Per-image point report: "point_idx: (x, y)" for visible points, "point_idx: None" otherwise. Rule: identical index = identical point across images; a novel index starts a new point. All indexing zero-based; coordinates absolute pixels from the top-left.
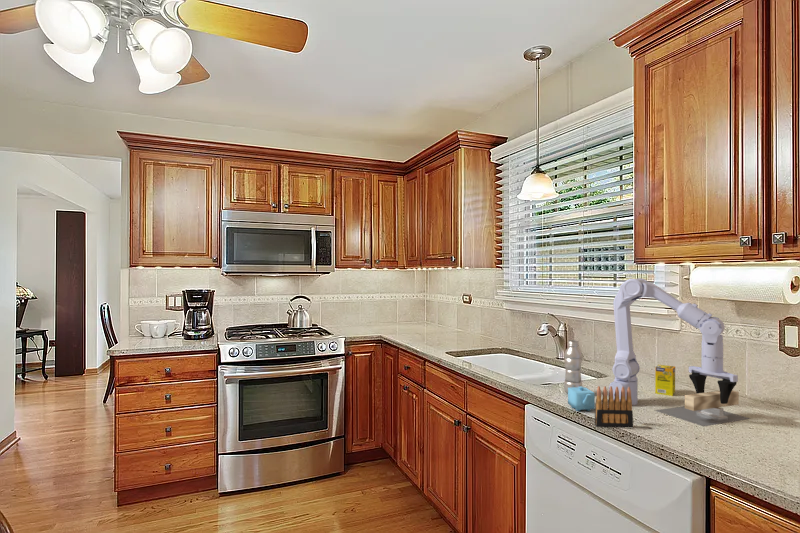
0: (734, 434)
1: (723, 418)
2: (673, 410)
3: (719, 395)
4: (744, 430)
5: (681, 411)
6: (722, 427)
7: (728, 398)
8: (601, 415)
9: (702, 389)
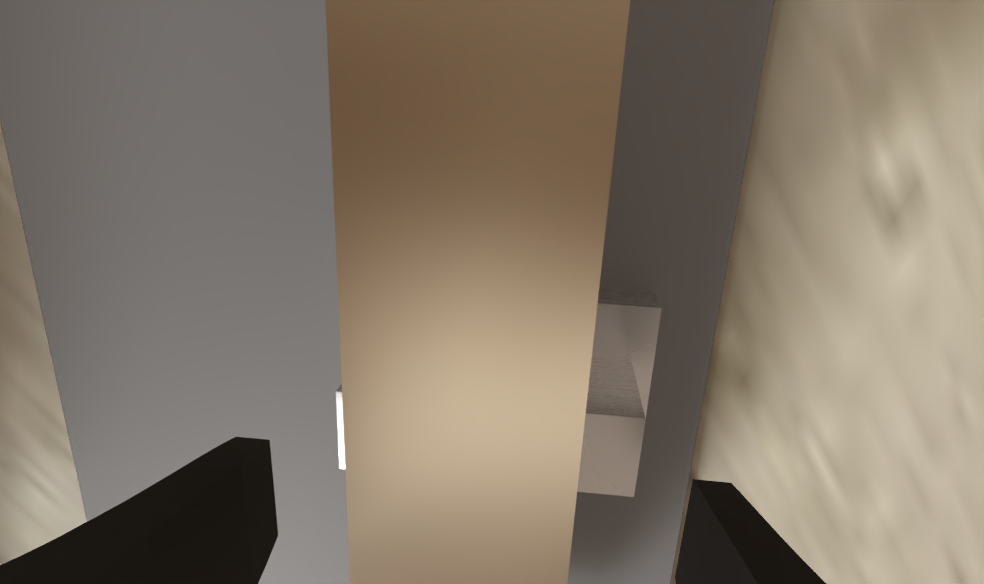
0: (879, 567)
1: (647, 382)
2: (154, 483)
3: (572, 530)
4: (888, 365)
5: (207, 446)
6: (698, 466)
7: (781, 547)
8: None
9: (188, 560)
